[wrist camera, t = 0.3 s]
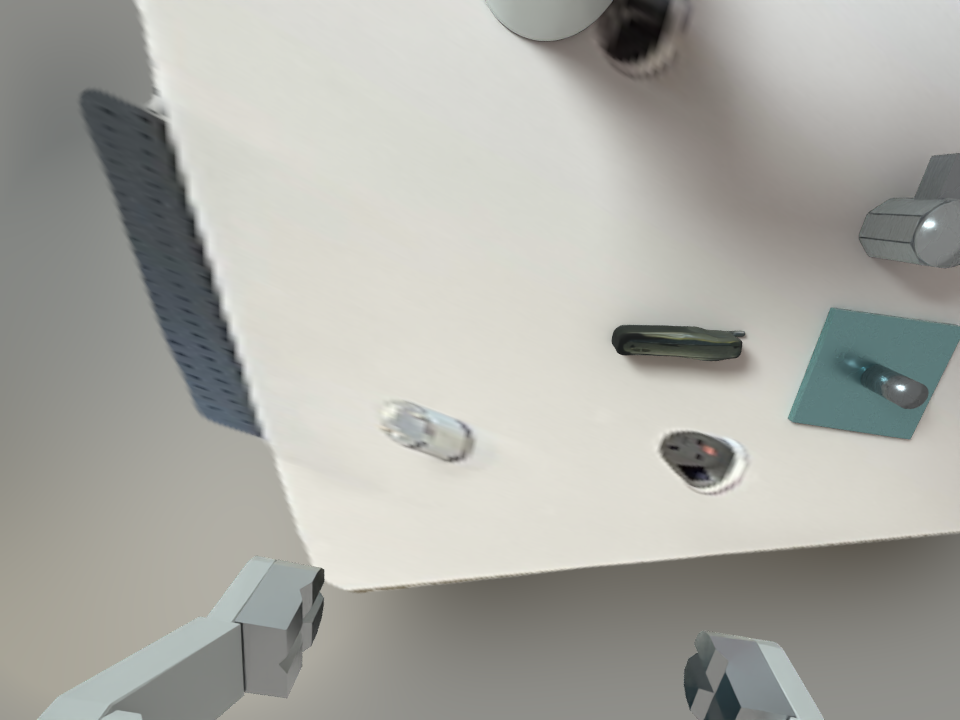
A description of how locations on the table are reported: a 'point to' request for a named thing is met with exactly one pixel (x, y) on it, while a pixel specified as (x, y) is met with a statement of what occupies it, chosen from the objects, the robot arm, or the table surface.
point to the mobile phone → (677, 342)
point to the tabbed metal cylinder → (920, 220)
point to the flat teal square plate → (873, 372)
